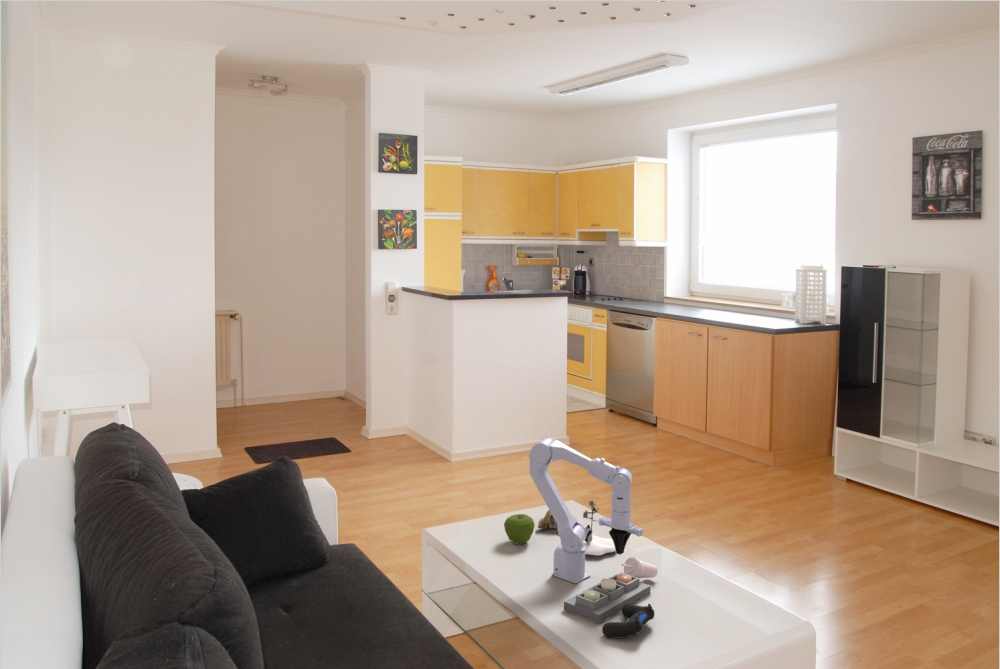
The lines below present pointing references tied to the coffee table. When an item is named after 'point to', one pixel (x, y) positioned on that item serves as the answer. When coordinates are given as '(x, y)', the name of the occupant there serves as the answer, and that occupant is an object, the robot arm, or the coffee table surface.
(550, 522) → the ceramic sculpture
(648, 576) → the smoothie
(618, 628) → the gaming controller
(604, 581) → the offwhite button
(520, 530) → the apple
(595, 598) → the sage button
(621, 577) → the peach button
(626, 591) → the button panel
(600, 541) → the figurine
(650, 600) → the coffee table surface
